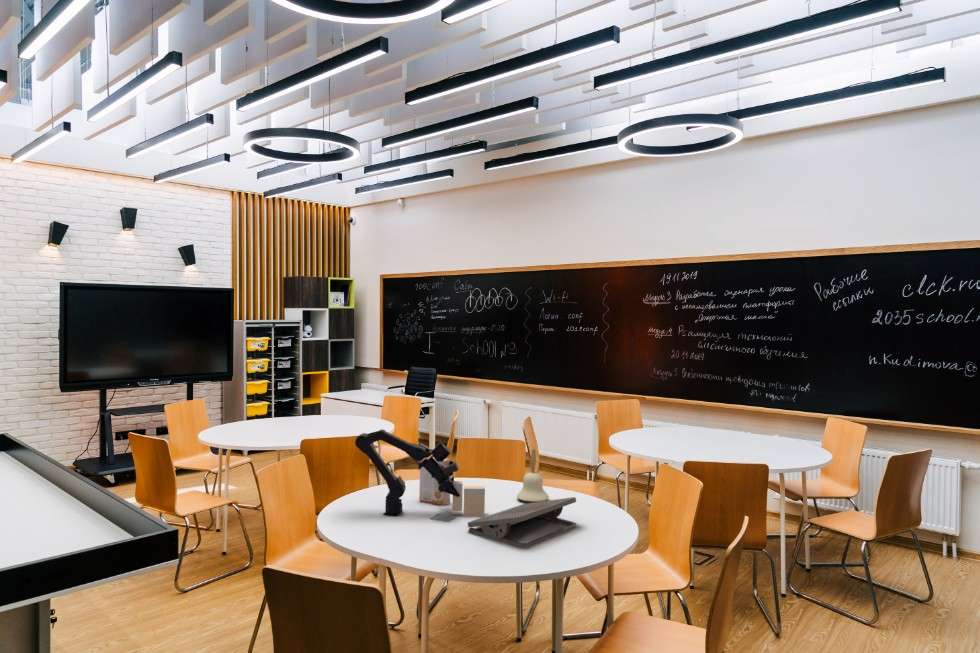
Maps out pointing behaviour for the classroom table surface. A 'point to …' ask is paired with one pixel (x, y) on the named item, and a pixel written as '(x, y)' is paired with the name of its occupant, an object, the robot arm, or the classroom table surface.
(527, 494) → the handbell
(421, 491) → the cracker box
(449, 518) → the mat
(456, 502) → the stub
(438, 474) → the robot arm
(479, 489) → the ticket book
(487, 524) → the foot rest
